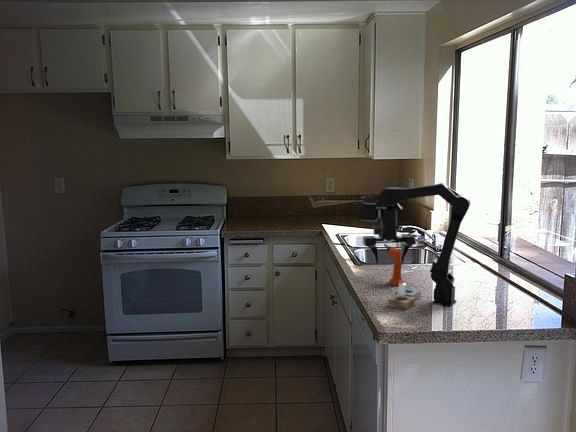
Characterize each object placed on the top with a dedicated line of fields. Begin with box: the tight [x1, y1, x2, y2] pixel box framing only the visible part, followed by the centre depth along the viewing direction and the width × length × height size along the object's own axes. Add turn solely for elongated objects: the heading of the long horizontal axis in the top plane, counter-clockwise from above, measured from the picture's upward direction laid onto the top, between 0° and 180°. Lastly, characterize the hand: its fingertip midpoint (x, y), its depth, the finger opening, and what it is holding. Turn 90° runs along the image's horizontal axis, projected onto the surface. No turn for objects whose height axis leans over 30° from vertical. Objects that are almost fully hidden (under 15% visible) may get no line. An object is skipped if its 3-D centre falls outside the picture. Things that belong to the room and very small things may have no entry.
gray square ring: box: [394, 287, 422, 301], centre depth 192 cm, size 7×7×2 cm
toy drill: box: [383, 243, 406, 287], centre depth 213 cm, size 5×19×15 cm, turn 11°
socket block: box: [387, 294, 416, 311], centre depth 184 cm, size 7×7×2 cm
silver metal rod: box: [398, 282, 407, 301], centre depth 183 cm, size 2×2×8 cm
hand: (388, 263), depth 192 cm, fingers open, 9 cm apart
